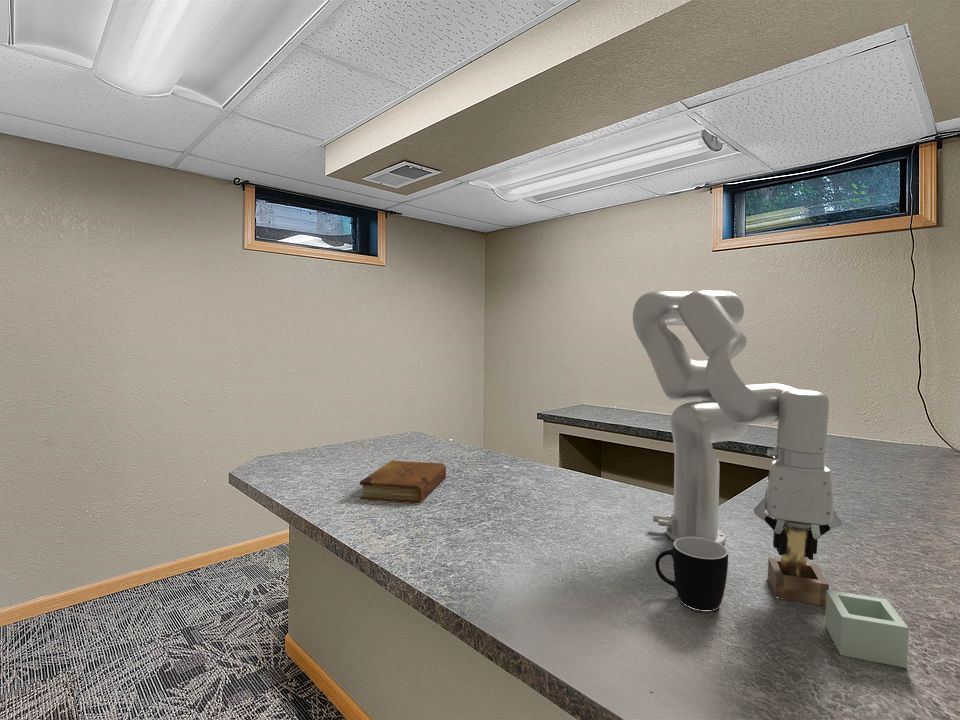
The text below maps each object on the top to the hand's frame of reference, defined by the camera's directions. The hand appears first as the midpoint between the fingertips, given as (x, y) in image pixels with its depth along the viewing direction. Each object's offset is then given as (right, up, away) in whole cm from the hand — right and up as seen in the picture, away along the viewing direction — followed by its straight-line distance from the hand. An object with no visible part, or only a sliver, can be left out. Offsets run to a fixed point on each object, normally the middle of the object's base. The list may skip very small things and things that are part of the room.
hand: (794, 553), depth 93 cm
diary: (-81, -4, +60) cm, 101 cm away
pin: (0, -5, +1) cm, 5 cm away
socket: (+1, -8, -16) cm, 18 cm away
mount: (0, -7, 0) cm, 7 cm away
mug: (-21, -8, -3) cm, 22 cm away
